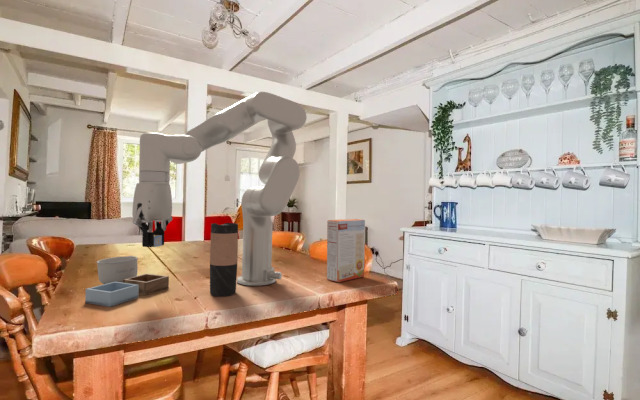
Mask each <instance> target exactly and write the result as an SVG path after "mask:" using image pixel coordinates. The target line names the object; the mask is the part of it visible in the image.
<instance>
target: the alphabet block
mask: <svg viewBox="0 0 640 400" xmlns="http://www.w3.org/2000/svg"><path fill="white" fill-rule="evenodd" d="M161 246H163V245H162V235H154V246H153V247H152V248H157V247H161Z"/></svg>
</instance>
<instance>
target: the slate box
mask: <svg viewBox="0 0 640 400" xmlns="http://www.w3.org/2000/svg"><path fill="white" fill-rule="evenodd" d="M138 293H139V285H137V284H129V283H122V282H111V283H107V284H103V283H102V284H100V285H96V286H93V287H88V288H85V295H84V297H85V299H84V303H85V304H92V305H97V306H103V307H108V308H112V307H114V306H117V305H120V304H123V303H127V302H129V301H130V302H131V301H133V300H136V299H138V298H139V294H138Z"/></svg>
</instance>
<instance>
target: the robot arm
mask: <svg viewBox="0 0 640 400" xmlns="http://www.w3.org/2000/svg"><path fill="white" fill-rule="evenodd" d="M266 120H267V125H268V126H267V127H268V129H269V131H270V133H271V137H272V142H271V145H270V148H269V150H268V152H267V154H266V156H265V158H264V160H263V162H262V163H261V165H260V168H259V169H258V178H259V181H260V182H261V183H263V184H264V185H255V186H254V185H252V186H250V187H249V188H247V189H246V190H245V191H244V192H243V195H242V196H241V202H240V203H241V211H242V212H241V213H242V220H243V221H242V225H243V226H242V229H243V232H242V261H241V262H242V263H241V265H242V266H241V275H240V276H237V279H236V283H238V284H239V285H242V286H253V287H255V286H268V285H271V284H274V283H276V280H281V279H282V276H283V275H282V272H281V271H275V267H273V266H272V259H273V258H272V256H273V222H272V217H275V216H278V215H280V214H281V213H282V212H283V211H284V210H285V209H286V206H288V203H289V201H290V199H291V197H292V195H293V193H294V190H295V188H296V187H297V185H298V181H299V178H300V171H301V170H300V166H299V163H298V162H297V161H296V160H295V158H294V155H295V154H296V150H297V143H296V139H295V136H294V132H293V131H296V130H299V129H301V128H302V127H303V126H305V124H306V122H307V112H306V111H305V108H304V107H303V106H302V105H301V104H299V103H298V102H297V101H296V102H295V101H294V100H291V99H288V98H284V97H282V96H280V95H276V94H274V93H272V92H271V93H270V92H267V91H257V92H255V93H253V94H251V95H248V96H247V97H245V98H243V99H241V100H239V101H238V102H236V103H234V104H232V105H231V106H228V107H227V108H224V109H223V110H221V111H219V112H217V113H215V114H214V115H211V116H210V117H209V118H207V119H206V120H203V122H202V123H200V124H198V125H197V126H194V127H192V129H189V130H188V131H186V132H184V133H182V134H174V135H173V134H164V133H159V132H143V133H142V134H141V135H140V136H139V159H138V160H139V163H138V164H139V166H138V167H139V168H138V171H139V172H138V173H139V174H138V183H136V185H135V188H134V192H133V201H132V224H134V225H136V226H137V227H138V228H139V229H140V232H141V234H142V235H141V236H142V237H141V238H142V241H141V242H142V243H141V244H142V245H141V246H142V247H143V248H154V247H153V246H154V235H162V246H164V245H165V231H166V230H167V226H168V225H169V224H170V222H172V221H173V215H172V214H173V199H172V197H173V196H172V188H171V185H170V182H171V181H170V180H171V178H170V177H171V176H170V172H171V171H170V170H171V165H170V164H171V163H174V164H177V165H178V164H179V165H182V164H186V163H191V162H194V161H195V160H197V159H199V157H200V155H201V153H203V152H204V151H206V150H208V149H210V148H212V147H214V146H218V145H220V144H223V143H225V142H228V141H229V140H232V139H233V138H235V137H237V136H238V135H240V134H242V133H244V132H245V131H246V130H248V129H250V128H251V127H253V126H255V125H256V124H258V123H260V122H262V121H266ZM170 162H171V163H170ZM153 224H154V230H153Z"/></svg>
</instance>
